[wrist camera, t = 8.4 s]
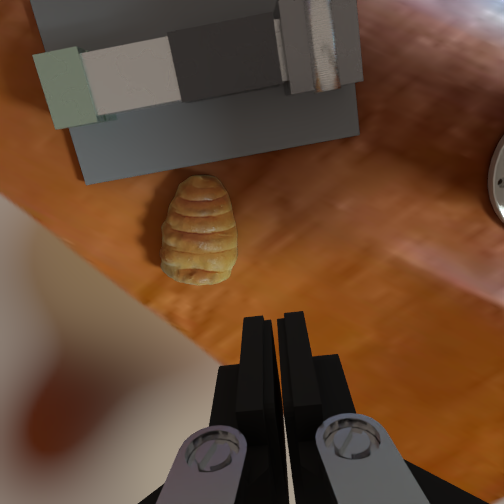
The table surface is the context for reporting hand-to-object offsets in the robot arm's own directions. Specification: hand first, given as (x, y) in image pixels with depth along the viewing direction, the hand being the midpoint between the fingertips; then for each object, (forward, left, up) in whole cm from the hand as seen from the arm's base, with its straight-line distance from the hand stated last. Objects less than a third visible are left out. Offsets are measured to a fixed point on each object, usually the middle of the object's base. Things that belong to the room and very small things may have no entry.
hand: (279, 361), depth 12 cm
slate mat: (+2, -10, -27) cm, 29 cm away
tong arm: (+5, -10, -22) cm, 25 cm away
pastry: (+6, +3, -27) cm, 28 cm away
